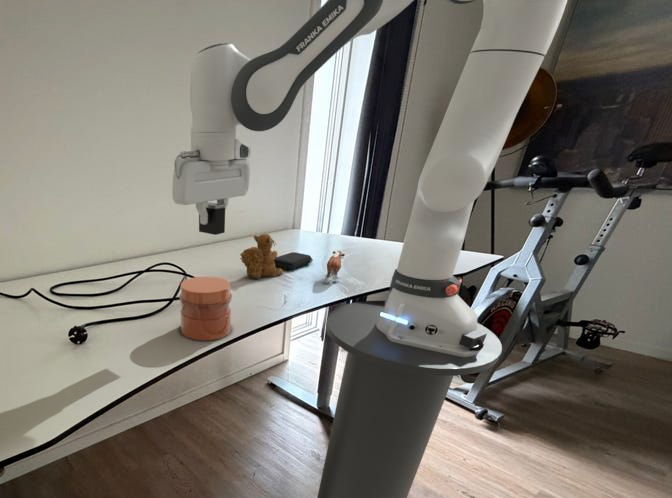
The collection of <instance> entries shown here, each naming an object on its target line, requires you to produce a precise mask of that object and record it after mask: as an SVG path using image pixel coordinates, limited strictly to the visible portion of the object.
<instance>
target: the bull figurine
mask: <svg viewBox="0 0 672 498" xmlns="http://www.w3.org/2000/svg"><path fill="white" fill-rule="evenodd" d="M344 259H345V253H344V252H343V250H340V249H338V250H337V251H335V250H333V251H332V256H330V257H329V259H328V261H327V263H326V270H327V271H326V280H325V281H324V283H325V284H328V283H329V279H330V277H333V283H338V280H337V279H338V273H339V271H340V270H341V269H342V260H344Z"/></svg>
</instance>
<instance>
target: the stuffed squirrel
mask: <svg viewBox="0 0 672 498" xmlns="http://www.w3.org/2000/svg"><path fill="white" fill-rule="evenodd" d="M253 239H254V241H255V242H256V245H257V246H251V247H250V248H249V247H248V248H246V249H244V250H243V252H240V254H239V256H240V258H239V259H240V260H241V263H243V264H244V267H245V268H246V274H247V276H249V277H250V278H253V279H256V280H259V279H261V278H262V277H263V278H270V277H271V278H272V277H277V276H280V275H282V274H283V271H284V270H283V269H282V268H278V267H275V263H274V260H275V258H276V257H278V251H276V250H273V251H272V248H273V247H275V246H277V242H276V241H275V240H274V239H273V237H272V236H271V235H270V234H269V233H262V234H259V235H256V234H254V235H253Z"/></svg>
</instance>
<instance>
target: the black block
mask: <svg viewBox="0 0 672 498" xmlns="http://www.w3.org/2000/svg"><path fill="white" fill-rule="evenodd" d="M206 210H207V213H208V215H211V219H210V220H211V222H210V223H209V224H205V225H204V224H201V223H200V215H199V214H198V232H199V233H204V234H209V235H213V236H214V235H216V236H217V235H220V234H225V233H226V232H225V230H226V228H225V227H226V210H225V204H219V203H217V202H211V201H208V207H206Z"/></svg>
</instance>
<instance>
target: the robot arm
mask: <svg viewBox="0 0 672 498" xmlns="http://www.w3.org/2000/svg"><path fill="white" fill-rule="evenodd" d="M414 1H415V0H326V1H325V3H324V4H323V5H322V6H321V7H319V9H318V10H317V11H316V12H315V13H314V14H313V15H312V16H311V17H310V18H309V19H308V20H307V21H306V22H304V24H303V25H302V26H300V28H299V29H298V30H297V31H295V33H294V34H293V35H291V36H290V37H289V38H288V40H286V41H285V42H284V43H283V44H282V45H281V46H279V47H277V48H275V49H273V50H271V51H269V52H266V53H263V54H261V55H258V56H255V57H254V58H252V59H251V58H250V57H248V56H246V55H245V54H244V53H242V52H241V51H240V50H238V49H237V48H236V47H235V45H234V44H232V43H229V42H224V43H216V44H213V45H209V46H207V47H204V48H203V49H201V50H200V51H198V52H197V54H196V55H195V56H194V58H193V61H192V64H191V71H190V86H189V87H190V88H189V104H190V105H189V106H190V112H191V114H192V115H191V116H192V121H191V127H190V151H186V150H183V151H180V152H179V154H177V156H176V157H175V158H174V161H173V167H174V169H173V176H172V186H171V187H172V189H171V190H172V191H171V193H172V194H171V195H172V200H173V202H174V203H175V204H176V205H180V206H181V205H182V206H189V205H195V209H196V211H197V212H198V216H199V215H200V223H201V224H204V225H205V224H209V223H210V222H211V220H210V219H211V215H208V213H207V210H206V207H208V203H209V202H213V201H214V202H215V201H216V203H217V204H225V211H226V210H227V208H228V205H229V199H232V198H237V197H243V196H246V195H247V193H248V191H249V187H250V175H251V174H250V173H251V172H250V171H251V165H250V162H249V160H248V159H250V158H251V156H252V155H251V154H252V148H251V146H249V145H248V144H246V143H245V142H243V141H242V140H240V139H238V138H237V136H236V134H237V133H236V132H237V127H238V126H243V127H244V128H245V129H247V130H249V131H253V132H265V131H269V130H271V129H273V128H275V127H276V126H278V125H280V124H281V122H283V120H284V119H285V118H286V117H287V115H288V113H289V111H290V110H291V108H292V107H293V104H294V102H295V100H296V98H297V96H298V94H299V92H300V91H301V89H302V88H303V86H304V85H305V84H306V82H307V81H308V80H310V79H311V78H312V76H314V74H316V73H317V72H318V71H319V69H320V70H321V68H322V67H323V66H324V65H325V64H327V62H329V60H330V59H331V58H332V57H333V56H335V55H336V53H338V52H339V51H340V50H341V49H342V48H343V47H345V46H346V45H347V44H348V43H350V42H351V41H352V40H354V39H356V38H358V37H360V36H367V35H370V34H372V33H374V32H376V31H377V30H378V29H380V28H382V27H383V26H385V25H386V24H387V23H388V22H390V21H392V20H393V19H394V18H395V17H397V16H398V15H400V13H402V12H403V11H404V10H405V9H406V8H407V7H409V6H410V5H411V4H412V3H413V2H414ZM446 1H447V2H449V3H451V4H455V5H466V4H470V3H472V2H475V1H476V0H446ZM482 3H483V16H482V20H481V24H480V29H479V32H478V34H477V36H476V38H475V40H474V43H473V45H472V48H471V50H470V52H469V54H468V57H467V60H466V61H465V63H464V67H463V68H462V72H461V74H460V76H459V79H458V81H457V84H456V86H455V89H454V92H453V93H452V96H451V99H450V100H449V101H450V102H449V104H448V106H447V109H446V112H445V114H444V117H443V118H442V121H441V124H440V126H439V129H438V131H437V134H436V136H435V138H434V141H433V144H432V146H431V148H430V152H429V153H428V155H427V158H426V161H425V163H424V166H423V169H422V171H421V173H420V175H419V178H418V183H417V189H416V193H415V198H414V202H413V205H412V209H411V213H410V217H409V220H408V224H407V228H406V232H405V236H404V240H403V242H402V247H401V251H400V256H399V259H398V263H397V267H396V268H395V269H394V272H393V274H392V276H391V280H390V283H389V284H390V285H389V295H388V298H387V300H386V301H387V303H386V305H385V307H384V309H383V312H381V314H380V317H379V319H378V320H377V322H376V327H377V328H378V329H379V330H380V331H381V332H382V333H384V334H385V335H386V336H387V338H388V339H389V340H390V341H392V342H395V343H400V344H404V345H409V346H413V347H418V348H423V349H427V350H432V351H437V352H441V353H446V354H450V355H455V356H460V357H469V356H473V355H475V354H477V353H478V352H480V350H481V349H482V348H483V346H484V341H485V338H486V335H487V333H484V332H481V331H478V330H476V329H477V323H478V316H477V313H476V311H474V309H472V307H470V306H469V305H468V303H466V302H465V300H464V299H462V297H460V295H459V294H458V293H459V291H460V288H461V284H462V282H463V279H462V278H460V279H459V280H458V278H457V277H456V276H454V272H455V268H456V265H457V263H458V260H459V257H460V254H461V251H462V248H463V244H464V241H465V238H466V232H467V229H468V225H469V221H470V217H471V214H472V210H473V207H474V203H475V201H476V200H477V199H478V197H480V195H481V194H482V193H483V191H484V189H485V188H486V185H487V184H488V181H489V179H490V177H491V175H492V172H493V170H494V168H495V166H496V163H497V162H498V159H499V157H500V154H501V152H502V150H503V147H504V146H505V143H506V141H507V138H508V136H509V135H510V134H509V133H510V132H511V129H512V127H513V124H514V122H515V119H516V118H517V115H518V113H519V110H520V108H521V106H522V104H523V102H524V100H525V99H526V97H527V94H528V92H529V90H530V88H531V86H532V84H533V82H534V80H535V78H536V76H537V74H538V72H539V69H540V68H541V65H542V63H543V62H544V59H545V57H546V55H547V54H548V52H549V50H550V47H551V44H552V42H553V40H554V38H555V36H556V33H557V30H558V28H559V26H560V24H561V23H560V22H561V20H562V18H563V15H564V12H565V9H566V7H567V3H568V0H482Z"/></svg>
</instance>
